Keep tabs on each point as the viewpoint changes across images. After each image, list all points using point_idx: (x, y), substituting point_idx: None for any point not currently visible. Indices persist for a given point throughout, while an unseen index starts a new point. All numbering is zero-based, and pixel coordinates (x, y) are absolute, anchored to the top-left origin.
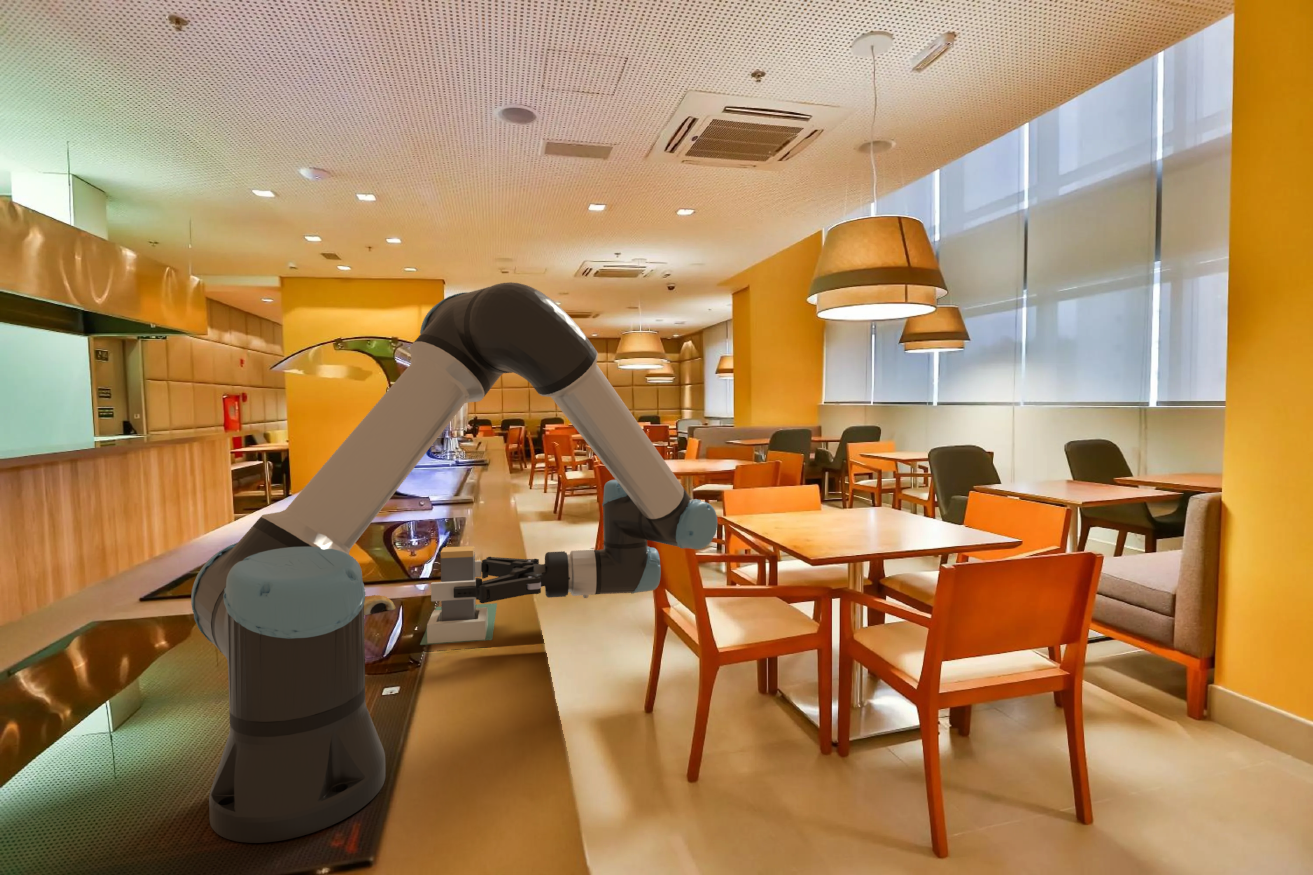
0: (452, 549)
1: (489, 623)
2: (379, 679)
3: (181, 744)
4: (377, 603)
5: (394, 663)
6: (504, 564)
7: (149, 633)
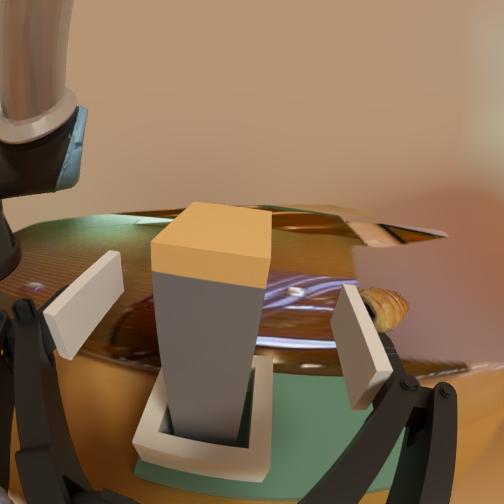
0: (221, 215)
1: (270, 486)
2: (102, 318)
3: (88, 238)
4: (365, 302)
5: (146, 336)
6: (329, 477)
7: (314, 225)
